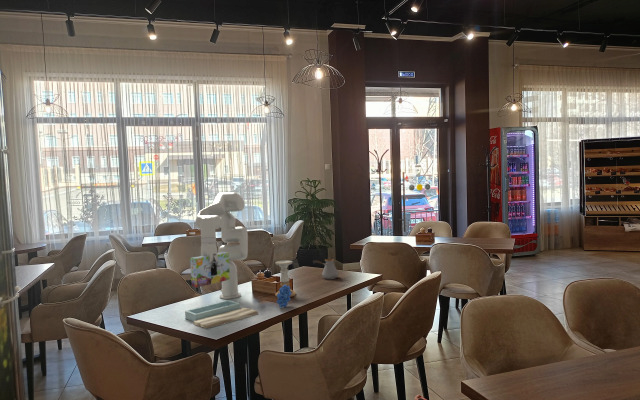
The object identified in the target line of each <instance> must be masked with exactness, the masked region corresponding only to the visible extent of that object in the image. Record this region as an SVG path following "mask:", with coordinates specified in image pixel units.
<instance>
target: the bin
mask: <svg viewBox="0 0 640 400" xmlns="http://www.w3.org/2000/svg"><path fill="white" fill-rule="evenodd" d="M237 309H241V304H240V302H236V301H233V300H230V299H226V300H223V301H219V302H216V303H212V304H207V305H204V306H198V307H195V308H191V309H188V310H185V311H184V313H185V315H184V316H185V318H184V319H185V320H188V321H191V322H193V323H194V321H196V320H200V319H203V318H207V317H211V316H215V315H218V314H222V313H226V312H229V311H233V310H237Z"/></svg>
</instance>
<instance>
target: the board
mask: <svg viewBox="0 0 640 400" xmlns="http://www.w3.org/2000/svg"><path fill="white" fill-rule="evenodd" d="M252 315H253V316H256V315H259V311H258V310H255V309H251V308H247V307H240V309H237V310H233V311H229V312H226V313H222V314H218V315H215V316H211V317H207V318H203V319H200V320H196V321H194V322H193V325H195V326H197V325H198V327H200V326H201V328H202V327H204V328H203V329H205V328H208V329H210V328H209V327H211V328H214V326H215V327H218V326H221V325H225V324H228V323H231V322H234V321H238V319H239V320H242V319H246V318H249V317H252ZM245 317H246V318H245ZM224 323H225V324H224ZM217 325H218V326H217Z"/></svg>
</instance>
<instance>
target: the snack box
mask: <svg viewBox="0 0 640 400" xmlns="http://www.w3.org/2000/svg"><path fill="white" fill-rule="evenodd" d="M217 253H218V252H217ZM218 261H219V262H218V265H217V275H214V276H211V268H212V267H211V263H208V256H205V255H203V256H201V255H199V256H193V257H190V258H189V262H190V278H191V279H190V281H191V287H193V288H201V287H204V286H209V285H214V284H217V283H220V282H221V283H222V281H226V280H230V272H229V253H228V252H219V253H218ZM212 262H214V261H212ZM213 264H214V263H213Z"/></svg>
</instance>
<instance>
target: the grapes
mask: <svg viewBox="0 0 640 400" xmlns="http://www.w3.org/2000/svg"><path fill="white" fill-rule="evenodd" d="M290 289H291V287H290V285H289V286H287V285H286V284H285V285H283V287H282V286H281V287H280V288H279V289H278V291H279V292H280V293H278V294H277V297H276V298H277V300H276V304H277V305H279V308H281V309H282V308H283V307H284V308H286V307H287V306H288V303H290V302H291V297H289V296H291V294H292V293H291V291H290Z"/></svg>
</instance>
